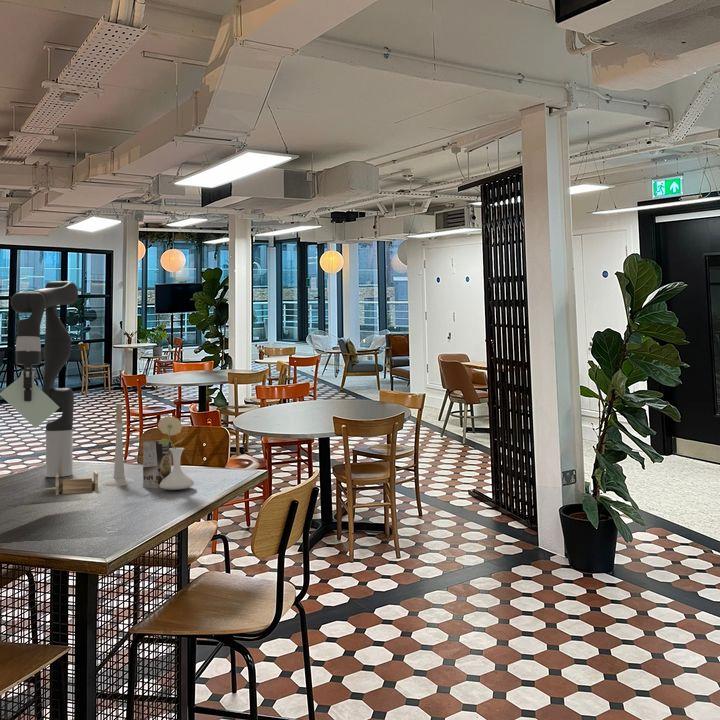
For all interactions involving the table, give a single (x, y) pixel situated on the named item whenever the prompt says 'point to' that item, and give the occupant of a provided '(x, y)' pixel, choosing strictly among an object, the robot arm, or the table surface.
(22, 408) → the tall sheet
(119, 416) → the candlestick
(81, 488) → the block
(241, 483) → the table surface
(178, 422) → the flower in vase
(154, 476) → the coffee box
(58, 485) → the offcut rack
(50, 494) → the table surface
